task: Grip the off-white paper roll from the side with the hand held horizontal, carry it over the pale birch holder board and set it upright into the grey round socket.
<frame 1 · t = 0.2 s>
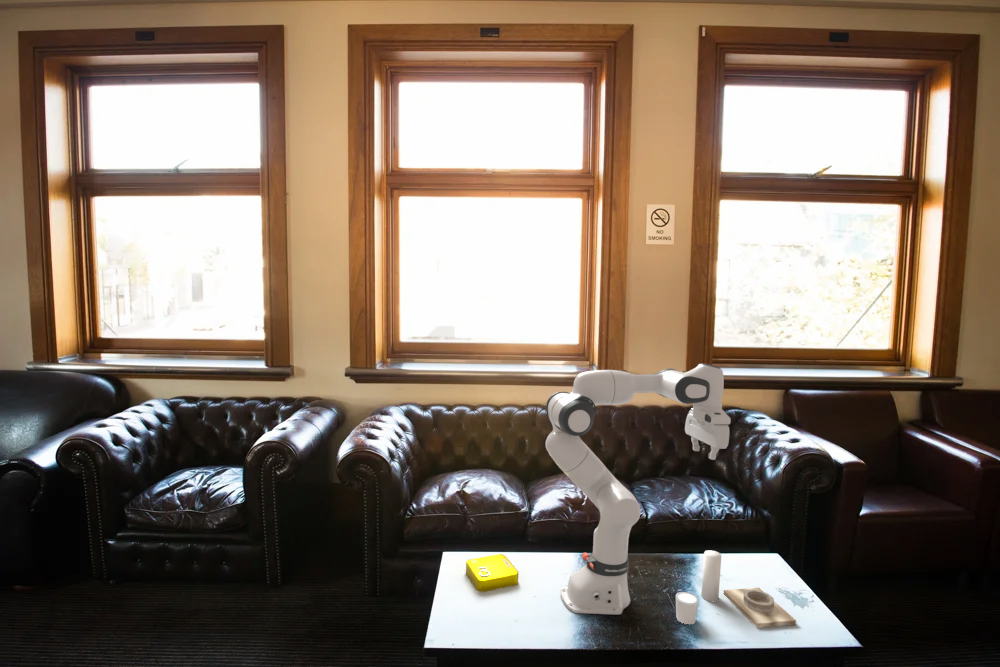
hand: (703, 454, 180), 47 cm above the table, tool pointing down, fingers open, 8 cm apart
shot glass: (685, 619, 170), on the table
paper roll: (709, 597, 182), on the table
roll holder: (757, 609, 176), on the table
element tile: (491, 578, 191), on the table
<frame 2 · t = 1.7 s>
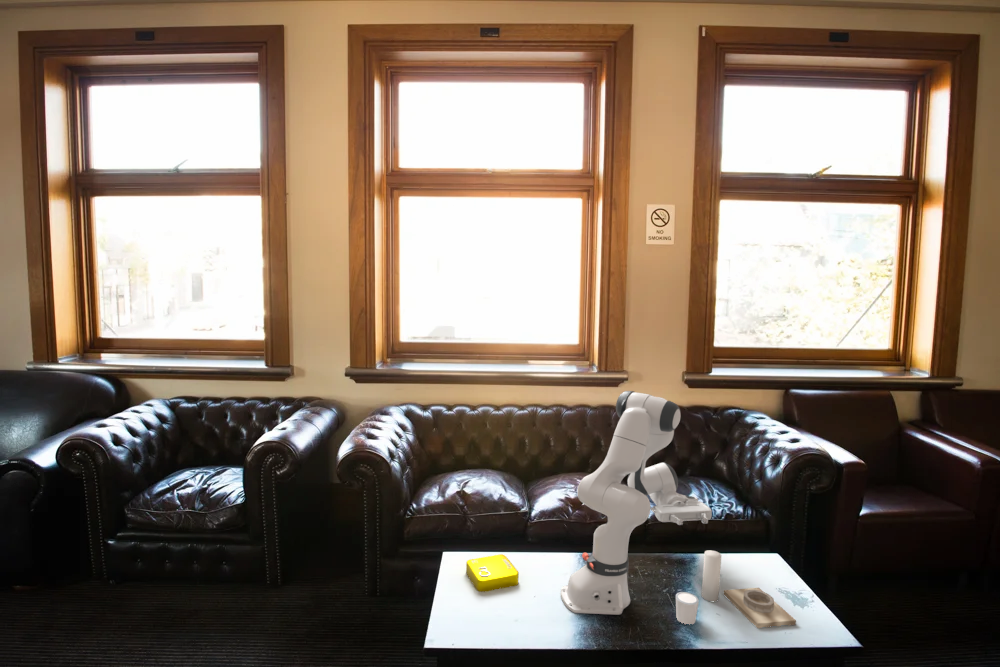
hand: (693, 522, 193), 20 cm above the table, tool horizontal, fingers open, 8 cm apart
nothing on the table moved.
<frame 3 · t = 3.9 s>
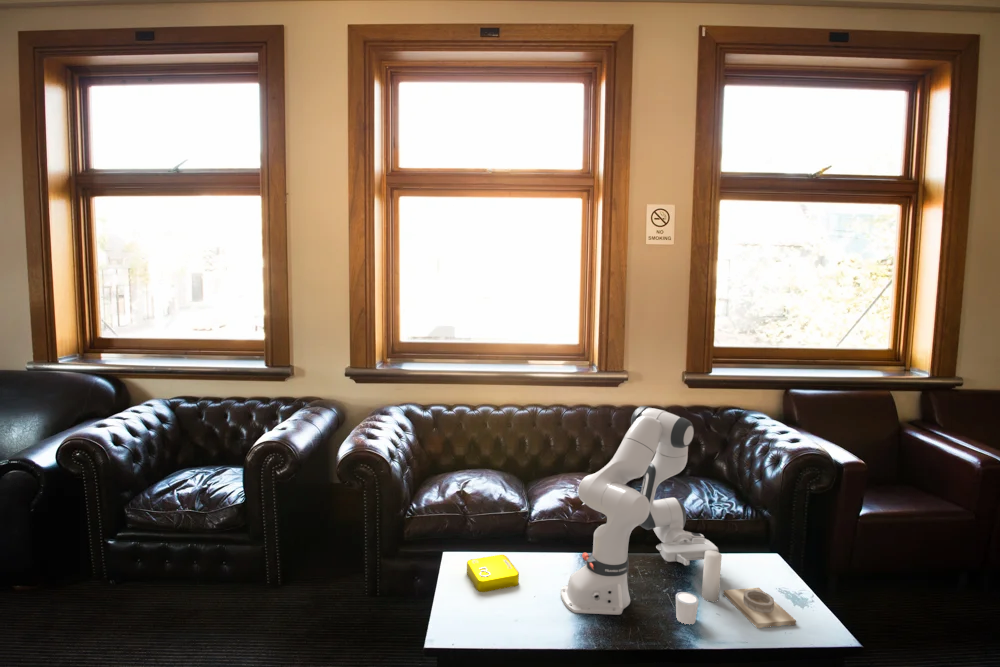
hand: (700, 562, 188), 8 cm above the table, tool horizontal, fingers open, 8 cm apart
nothing on the table moved.
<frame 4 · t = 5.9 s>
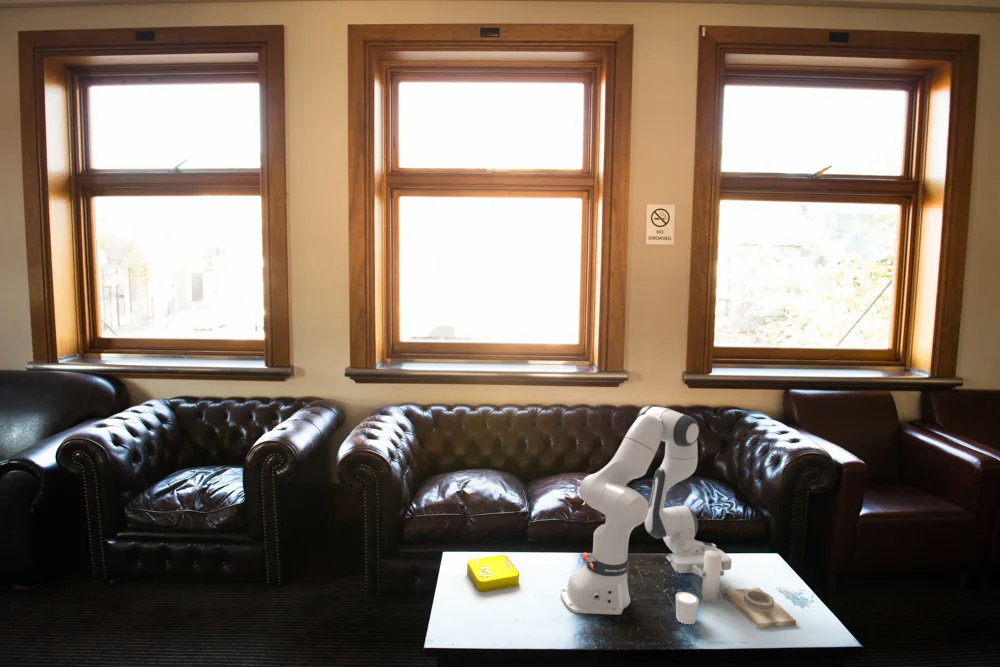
hand: (713, 574, 180), 9 cm above the table, tool horizontal, fingers closed on paper roll, 5 cm apart
paper roll: (709, 597, 182), on the table, touching gripper
everything else where it was.
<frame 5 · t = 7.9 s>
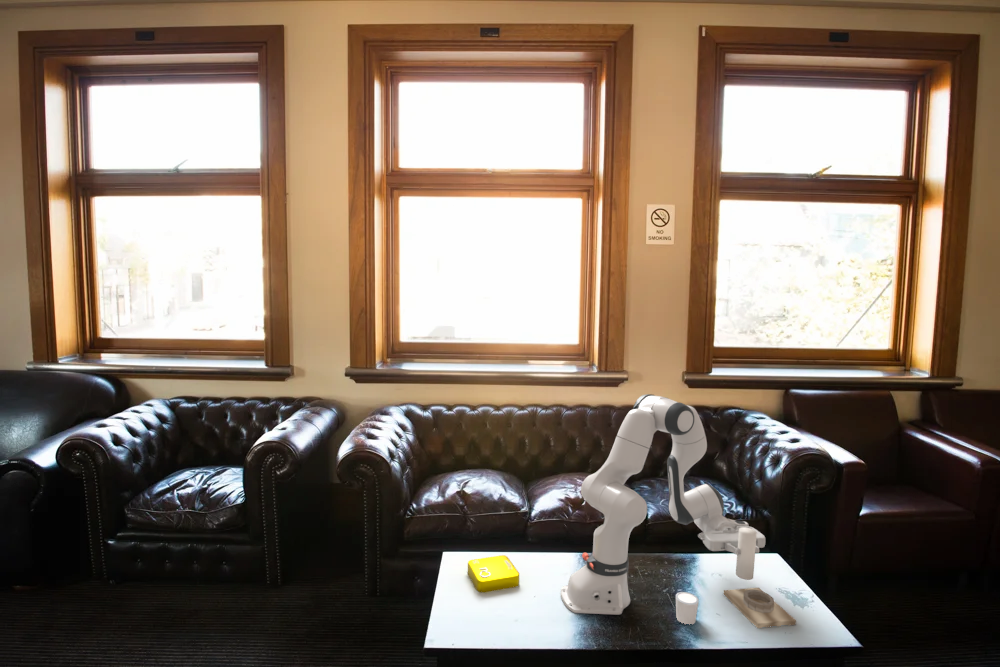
hand: (748, 551, 176), 18 cm above the table, tool horizontal, fingers closed on paper roll, 5 cm apart
paper roll: (744, 575, 177), point 10 cm above the table, touching gripper
everything else where it was.
when the fingers open (11 cm above the table, at t = 10.3 s): paper roll stays where it is, resting on roll holder.
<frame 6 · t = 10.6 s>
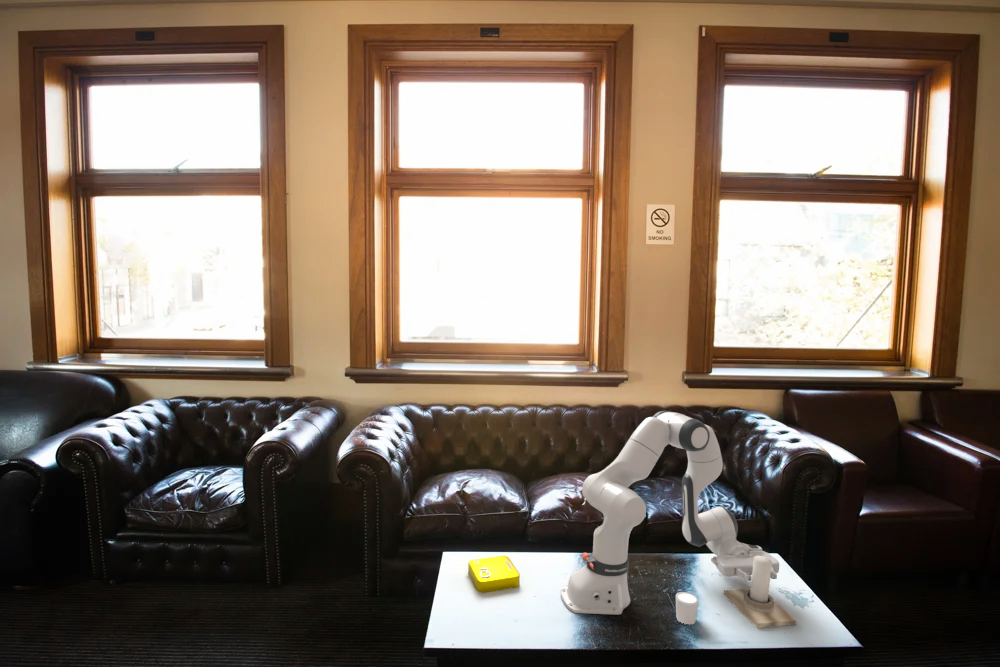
hand: (762, 577, 174), 11 cm above the table, tool horizontal, fingers open, 8 cm apart
paper roll: (758, 604, 176), point 2 cm above the table, touching roll holder
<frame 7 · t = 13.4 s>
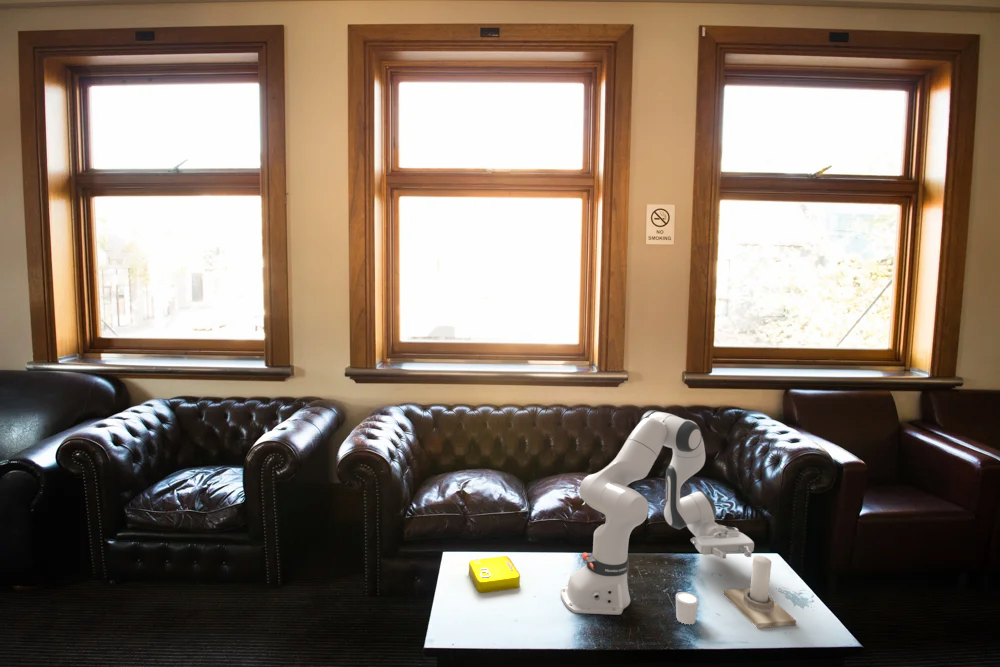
hand: (736, 555, 187), 11 cm above the table, tool horizontal, fingers open, 8 cm apart
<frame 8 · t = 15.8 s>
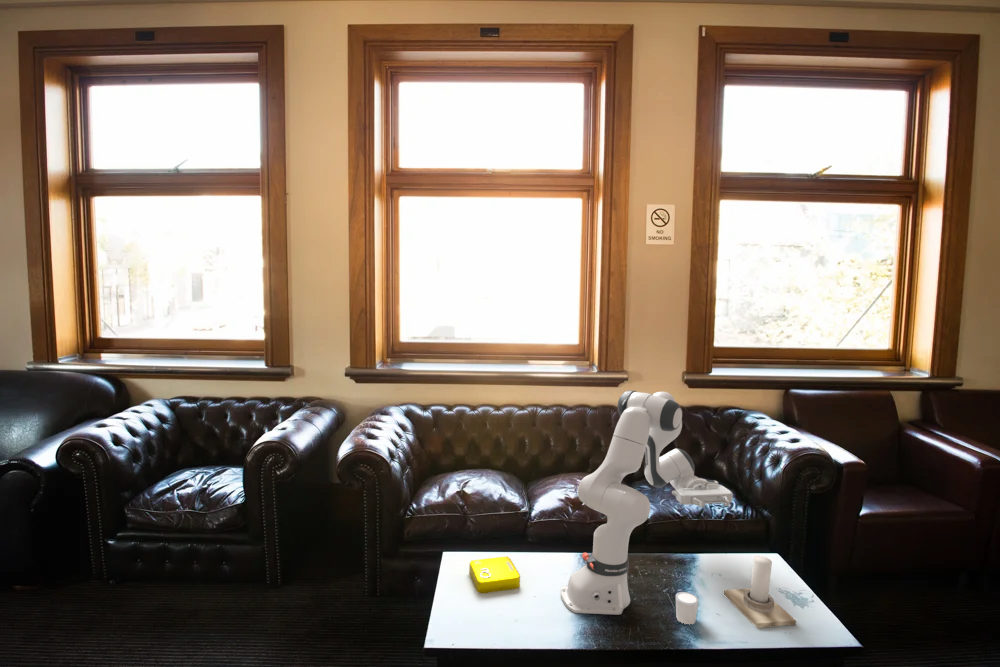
hand: (715, 504, 193), 26 cm above the table, tool horizontal, fingers open, 8 cm apart
at the end: paper roll 0.0 cm off-centre on the roll holder, point 1.6 cm above the roll holder's base; paper roll tilted 1°; the gripper is holding nothing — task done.
